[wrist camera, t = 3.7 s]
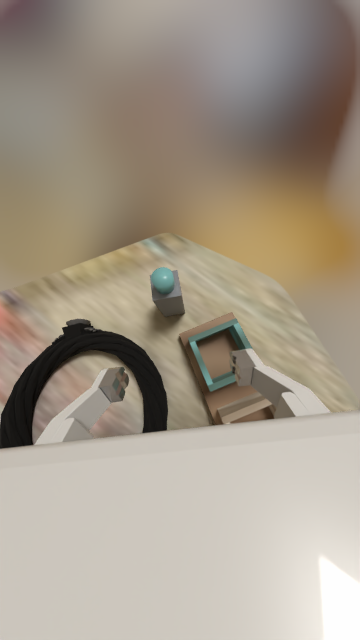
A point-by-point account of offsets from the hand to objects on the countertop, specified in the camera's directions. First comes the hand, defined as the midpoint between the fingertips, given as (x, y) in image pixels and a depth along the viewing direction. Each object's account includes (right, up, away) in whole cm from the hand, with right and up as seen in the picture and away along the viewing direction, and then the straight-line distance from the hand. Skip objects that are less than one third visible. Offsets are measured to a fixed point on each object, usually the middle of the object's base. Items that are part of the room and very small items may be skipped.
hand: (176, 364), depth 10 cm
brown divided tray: (+9, -7, +12) cm, 16 cm away
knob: (-1, +6, +16) cm, 18 cm away
